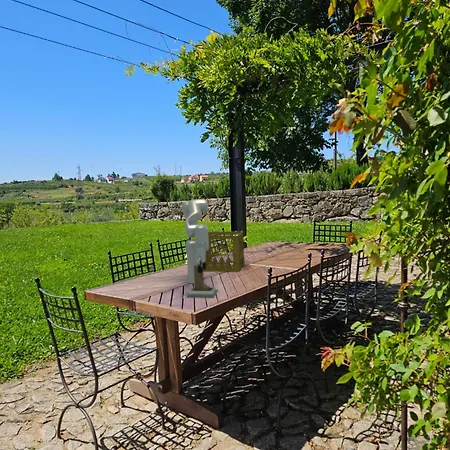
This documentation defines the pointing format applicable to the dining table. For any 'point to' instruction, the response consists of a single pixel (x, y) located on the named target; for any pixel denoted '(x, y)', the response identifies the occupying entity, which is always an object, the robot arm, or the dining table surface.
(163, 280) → the dining table surface
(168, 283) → the dining table surface
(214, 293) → the end cap
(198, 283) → the wooden block
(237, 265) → the milk crate
